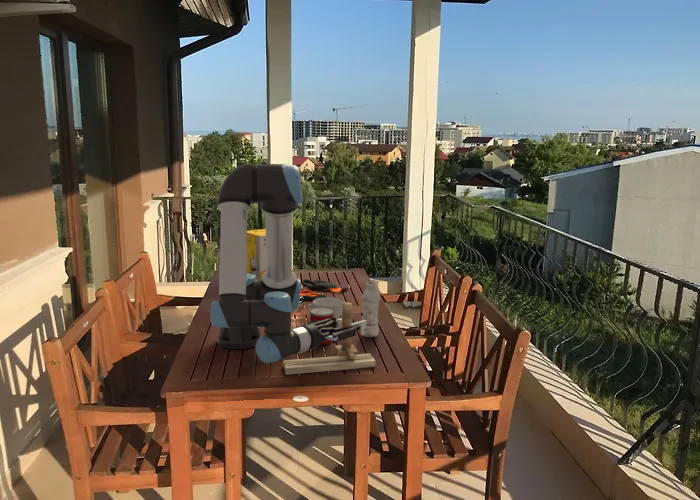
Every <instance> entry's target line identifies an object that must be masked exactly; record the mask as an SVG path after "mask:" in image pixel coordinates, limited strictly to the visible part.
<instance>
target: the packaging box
mask: <svg viewBox="0 0 700 500" xmlns="http://www.w3.org/2000/svg"><path fill="white" fill-rule="evenodd" d="M265 272H266V228H262V229H251V230H247V264H246V274H247V273H248V274H254V275H255V276H256V279H262V276H263V274H264V273H265Z"/></svg>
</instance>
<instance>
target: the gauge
mask: <svg viewBox="0 0 700 500" xmlns="http://www.w3.org/2000/svg"><path fill="white" fill-rule="evenodd" d="M352 316H353V303H351V302H345V303H343V304H342V314H341V318H342V327H346V326H350V324H353V317H352ZM352 339H353V337H350V338H347V339H344V340H341V344H340V345H339V344H337V345H335V346H334V350H335V351H334V356H345V355H348V356H349V358H350V359H355V355H357V354H359V353H358V351H359V350H358V349H357V348H356V346H355V345H354V344H352V342H353V341H352Z"/></svg>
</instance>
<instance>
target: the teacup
mask: <svg viewBox="0 0 700 500" xmlns="http://www.w3.org/2000/svg"><path fill="white" fill-rule="evenodd" d="M343 303H346V301H345V300H343V299H340V298H339V297H334V296H333V297H332V296H331V297H330V296H329V297H328V296H327V297H324V298H318V299H314V301H312V303H308V304H307V306H306V309H305V311H306V312H307V314H308V315H310V312H311V311H309V308H312V309H315V308H328V309H331V310H333V317H336V320H337V319H340V318H341V317H342V304H343Z"/></svg>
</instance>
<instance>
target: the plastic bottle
mask: <svg viewBox="0 0 700 500" xmlns="http://www.w3.org/2000/svg"><path fill="white" fill-rule="evenodd" d="M365 288H366V289H365V291H364V292H363V293H362V296H361V300H362V301H361V302H362V320H366V328H365V329H362V330H360V333H361V335H362V337H364V338H375V337H377V336H378V334H379V331H380V327H379V317H378V315H379V306H380V301H381V300H380V299H381V295H380V293H379V292H378V290H377V288H378V287H377V282H375V281H366V283H365ZM362 320H361V321H362Z"/></svg>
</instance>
